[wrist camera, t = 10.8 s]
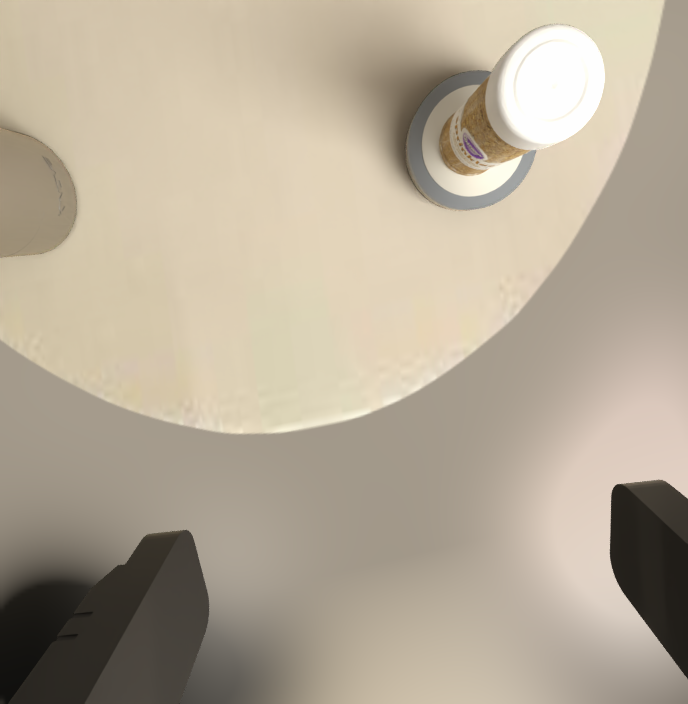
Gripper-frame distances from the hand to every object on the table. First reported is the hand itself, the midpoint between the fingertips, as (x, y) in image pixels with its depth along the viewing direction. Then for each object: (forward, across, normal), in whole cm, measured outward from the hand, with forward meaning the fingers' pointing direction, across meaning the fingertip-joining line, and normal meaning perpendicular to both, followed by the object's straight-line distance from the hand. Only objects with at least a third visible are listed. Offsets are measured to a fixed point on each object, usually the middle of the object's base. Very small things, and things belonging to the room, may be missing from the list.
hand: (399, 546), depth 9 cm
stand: (+30, -9, -11) cm, 33 cm away
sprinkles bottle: (+27, -9, -11) cm, 31 cm away
